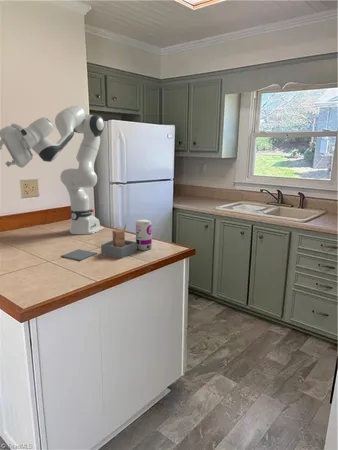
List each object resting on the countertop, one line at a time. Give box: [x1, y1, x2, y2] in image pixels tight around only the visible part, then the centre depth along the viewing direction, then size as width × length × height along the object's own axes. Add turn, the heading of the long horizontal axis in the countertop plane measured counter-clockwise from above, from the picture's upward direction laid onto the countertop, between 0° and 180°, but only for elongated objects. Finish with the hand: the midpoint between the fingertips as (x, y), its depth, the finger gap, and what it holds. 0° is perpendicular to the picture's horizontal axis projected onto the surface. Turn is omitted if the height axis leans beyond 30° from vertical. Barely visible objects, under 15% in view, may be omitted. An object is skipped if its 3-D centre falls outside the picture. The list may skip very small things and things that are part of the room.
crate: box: [100, 239, 138, 259], centre depth 167 cm, size 13×13×6 cm
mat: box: [60, 248, 98, 262], centre depth 163 cm, size 12×12×1 cm
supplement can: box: [135, 218, 153, 251], centre depth 174 cm, size 8×8×15 cm
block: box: [112, 228, 126, 247], centre depth 166 cm, size 4×4×8 cm
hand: (2, 157), depth 151 cm, fingers open, 8 cm apart
